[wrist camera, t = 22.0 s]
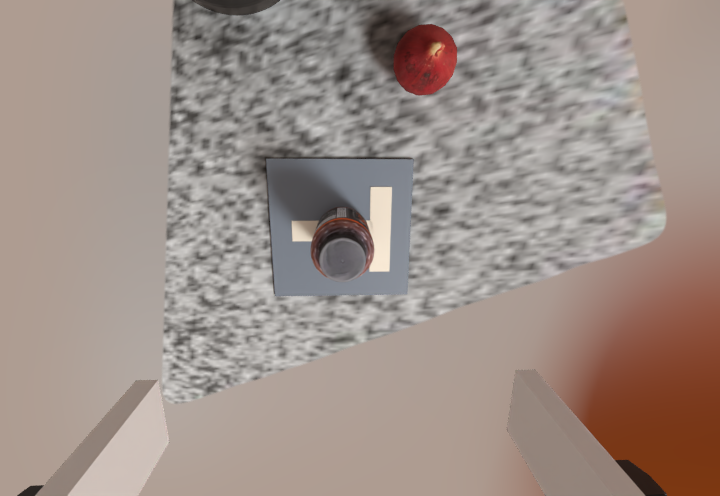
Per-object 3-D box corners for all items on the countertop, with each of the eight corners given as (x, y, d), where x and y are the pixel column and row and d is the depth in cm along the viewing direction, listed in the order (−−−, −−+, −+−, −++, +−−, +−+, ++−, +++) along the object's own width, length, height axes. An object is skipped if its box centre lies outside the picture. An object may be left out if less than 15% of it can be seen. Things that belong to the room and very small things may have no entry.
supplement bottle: (377, 241, 41) (390, 275, 30) (332, 264, 41) (329, 306, 30) (353, 195, 39) (357, 214, 28) (306, 220, 40) (293, 248, 29)
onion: (432, 107, 37) (455, 97, 30) (381, 89, 37) (391, 73, 29) (452, 49, 36) (482, 23, 28) (399, 29, 35) (416, -4, 28)
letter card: (266, 158, 38) (265, 158, 38) (413, 159, 39) (413, 159, 38) (275, 295, 42) (274, 296, 42) (406, 293, 43) (407, 294, 43)
